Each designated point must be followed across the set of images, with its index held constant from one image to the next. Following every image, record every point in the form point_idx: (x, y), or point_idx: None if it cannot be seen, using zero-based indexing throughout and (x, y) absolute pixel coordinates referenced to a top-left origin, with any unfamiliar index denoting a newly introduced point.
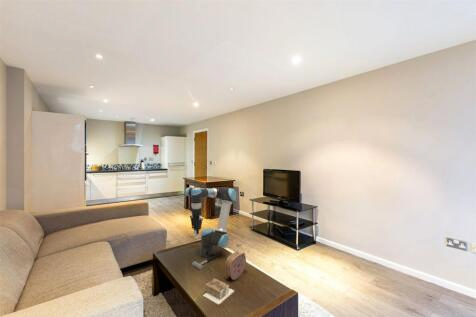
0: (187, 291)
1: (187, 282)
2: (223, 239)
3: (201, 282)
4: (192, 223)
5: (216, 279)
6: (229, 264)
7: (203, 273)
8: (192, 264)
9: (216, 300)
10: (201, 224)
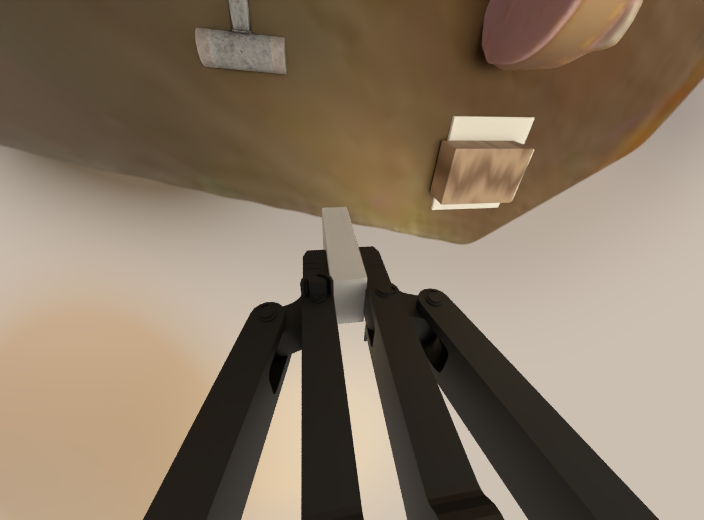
0: (368, 224)
1: (326, 193)
2: None
3: (376, 156)
4: (262, 448)
5: (469, 151)
6: (559, 55)
7: (332, 90)
8: (208, 66)
9: None
10: (526, 385)
